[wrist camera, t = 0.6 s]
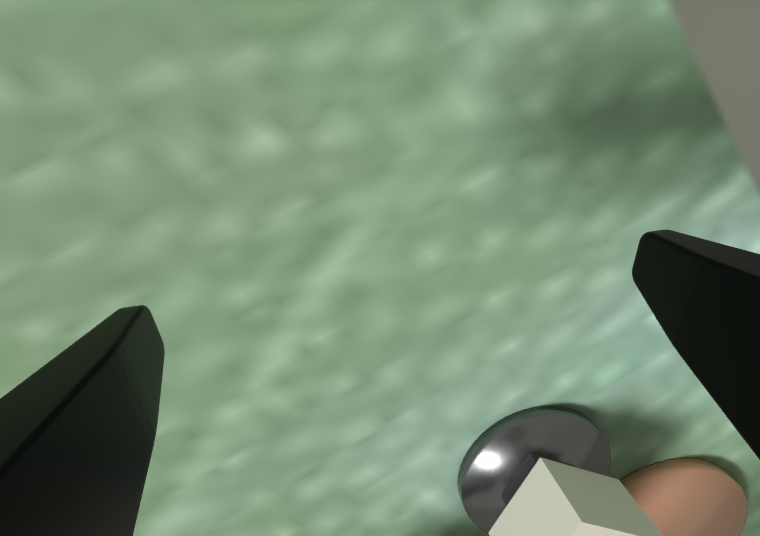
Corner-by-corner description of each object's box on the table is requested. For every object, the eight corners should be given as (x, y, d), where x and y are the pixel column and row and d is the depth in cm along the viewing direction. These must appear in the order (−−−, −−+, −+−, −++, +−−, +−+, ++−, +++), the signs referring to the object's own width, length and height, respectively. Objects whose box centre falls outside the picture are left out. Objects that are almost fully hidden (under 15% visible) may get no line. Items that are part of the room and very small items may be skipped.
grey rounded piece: (550, 536, 35) (604, 631, 29) (430, 509, 32) (463, 610, 26) (629, 428, 32) (707, 509, 26) (507, 387, 29) (563, 469, 23)
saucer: (664, 596, 40) (675, 611, 39) (541, 572, 36) (549, 588, 35) (766, 479, 37) (780, 492, 36) (641, 439, 33) (654, 452, 32)
